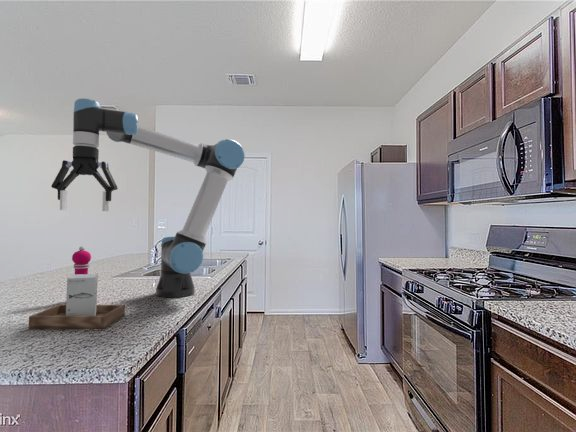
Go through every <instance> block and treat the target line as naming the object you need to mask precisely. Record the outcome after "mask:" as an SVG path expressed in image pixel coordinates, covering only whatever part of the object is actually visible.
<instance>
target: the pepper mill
mask: <svg viewBox="0 0 576 432" xmlns="http://www.w3.org/2000/svg"><path fill="white" fill-rule="evenodd" d="M85 249H86V247H85V246H83V245H81V246H79V248H78V251H75V252H74V253H73V254H72V256H71V261H72V262H73V263H74V264H73V269H74V275H77V274H89V268H90V263H89V262H90V261H91V260H92V255H91V253H90V252H89V251H88V250H85Z"/></svg>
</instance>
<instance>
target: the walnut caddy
mask: <svg viewBox="0 0 576 432" xmlns="http://www.w3.org/2000/svg"><path fill="white" fill-rule="evenodd" d="M125 316H126V305H125V304H97V306H96V316H66V303H65V304H60V303H59V304H56V305H54V306H51V307H49V308H46V309H45V310H42V311H40V312H37V313H35V314H32V315H29V316H28V330H31V331H32V330H33V331H34V330H38V331H39V330H41V331H42V330H45V331H46V330H50V331H51V330H52V329H53V330H52V331H55V330H56V331H59V330H61V331H62V330H64V329H65V330H66V329H90V330H89V331H96V330H95V329H105V330H107V329H108V328H110V327H111V326H112V325H113V323H114V324H115V323H117V322H118V321H120V320H122V319H123V318H124V317H125ZM110 325H111V326H110ZM107 327H108V328H107ZM54 329H55V330H54ZM91 329H92V330H91ZM65 330H64V331H65Z"/></svg>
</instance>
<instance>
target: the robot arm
mask: <svg viewBox="0 0 576 432" xmlns="http://www.w3.org/2000/svg"><path fill="white" fill-rule="evenodd" d="M138 119H139V118H138V115H137V114H136V113H133V112H128V111H123V110H122V111H120V110H113V109H106V108H104V107H103V108H102V107H101V105H100V102H98V101H96V100H94V99H90V98H82V97H81V98H77V99H76V100H75V101H74V104H73V119H72V120H73V125H72V126H73V130H72V133H73V134H72V135H73V136H72V144H73V147H72V161H69V160H62V162H61V168H60V169H59V171H58V173H57V175H56V176H55V178H54V180H53V182H52V184H51V186H50V187H51V188H52V189H55V190H57V200H58V201H59V211H68V209H67V208H68V191H67V190H66V189H67V188H68V187H69V186H70V185H71V183H72V182H74V181H75V179H76V178H77V177H78V176H81V175H82V176H86V175H88V176H93V177H94V178H95V179H96V181H97V182H98V183H99V184H100V185H101V187H102V188H103V189H104V191H102V204H101V205H102V207H101V208H102V212H109V204H110V203H109V202H112V192H113V191H117V190H118V189H119V188H118V185H117V184H116V181H115V180H114V178H113V176H112V173H111V171H110V169H109V163H108V162H106V161H103V160H102V161H101V162H99V151H100V150H99V145H100V140H99V139H100V132H106V136H107V137H108V138H109V139H110V140H111V141H113V142H116V143H121V142H122V143H126V144H130V145H133V146H136V147H139V148H144V149H146V150H150V151H154V152H157V153H161V154H164V155H167V156H170V157H174V158H177V159H181V160H183V161H187V162H191V163H193V164H194V166H195V167H199V168H202V169H205V172H206V174H205V175H204V176H205V177H204V178H203V181H202V184H201V186H200V188H199V191H198V193H197V195H196V197H195V200H194V202H193V203H192V207H191V208H190V211H189V214H188V216H187V218H186V221H185V223H184V225H183V227H182V229H181V230H178V231H176V233H175V236H165V237H163V238H162V240H161V243H160V247H161V251H160V253H161V255H160V256H161V257H160V259H161V260H160V277H159V279H158V282H157V285H156V288H155V296H157V297H162V298H180V297H188V296H189V297H190V296H192V295H195V293H196V292H195V291H196V289H195V284H194V281H193V277H192V274H191V273H193V272H194V273H195V271H197V270H198V269H199V268H200V267H201V265H202V263H203V261H204V249H205V247H206V244H207V241H206V239H205V237H206V235H207V233H208V229H209V228H210V225H211V224H212V223H211V222H212V220H213V217H214V215H215V213H216V210H217V208H218V206H219V203H220V201H221V199H222V195H224V194H223V193H224V191H225V188H226V185H227V184H228V182H229V181H231V180H233V179H234V177H235V175H236V172H237V170H238V168H240V167H241V166H242V165H243V164H244V161H245V150H244V149H243V146H242V145H241V144H240V143H239V142H237V141H236V140H235V139H231V138H230V139H229V138H226V139H221V140H219V141H218V142H217V143H216V144H213V145H211V144H210V145H209V144H204V143H199V144H197V143H194V142H190V141H187V140H184V139H182V138H178V137H174V136H171V135H169V134H165V133H162V132H158V131H155V130H152V129H149V128H146V127H144V126H143V127H142V126H141V125H139V123H138V122H139V120H138ZM71 167H72V170H70V168H71ZM98 169H101V170H102V172H103V174H104V177H105V178H106V180H107V181H106V180H105V178H104V177H102V176H103V175H101V174H100V172H99V171H98ZM68 172H70V173H69V174H68ZM67 174H68V175H67Z"/></svg>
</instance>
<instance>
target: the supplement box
mask: <svg viewBox="0 0 576 432" xmlns="http://www.w3.org/2000/svg"><path fill="white" fill-rule="evenodd" d="M98 276H99V274H98V273H91V274H90V273H88V274H77V275H75V274H70V275H69V276H68V277H67V279H66V297H65V298H66V299H65V301H66V303H65V304H66V316H96V306H97V305H98V303H97V302H98V301H97V300H98V279H99V277H98Z"/></svg>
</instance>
